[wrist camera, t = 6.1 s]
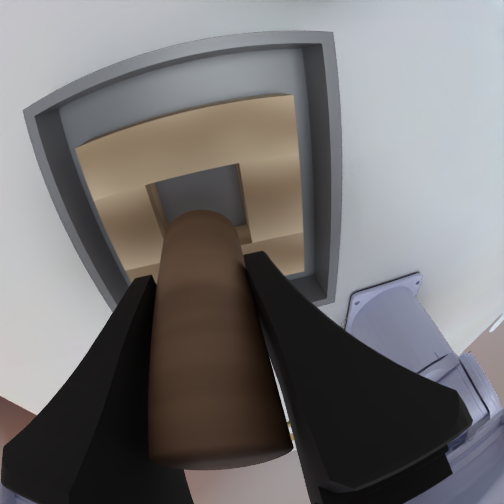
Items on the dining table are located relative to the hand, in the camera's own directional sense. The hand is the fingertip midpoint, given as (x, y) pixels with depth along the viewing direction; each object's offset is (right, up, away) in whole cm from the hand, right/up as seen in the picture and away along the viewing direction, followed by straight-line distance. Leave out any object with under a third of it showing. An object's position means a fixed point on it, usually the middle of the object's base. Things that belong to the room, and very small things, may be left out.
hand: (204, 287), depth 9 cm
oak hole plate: (-1, +4, +6) cm, 8 cm away
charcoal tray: (-1, +4, +6) cm, 8 cm away
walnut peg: (0, +1, +2) cm, 2 cm away
